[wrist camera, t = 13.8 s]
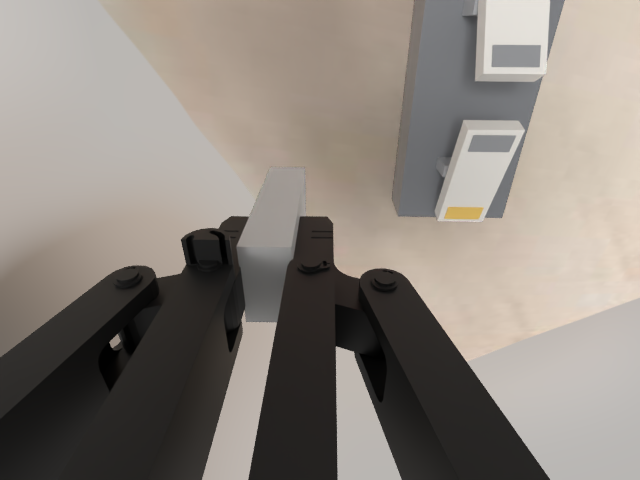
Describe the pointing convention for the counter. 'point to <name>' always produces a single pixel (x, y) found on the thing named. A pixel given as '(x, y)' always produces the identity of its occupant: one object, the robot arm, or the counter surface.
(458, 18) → the switch unit
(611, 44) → the counter surface
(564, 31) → the counter surface
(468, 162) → the rocker
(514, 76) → the rocker
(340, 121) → the counter surface
